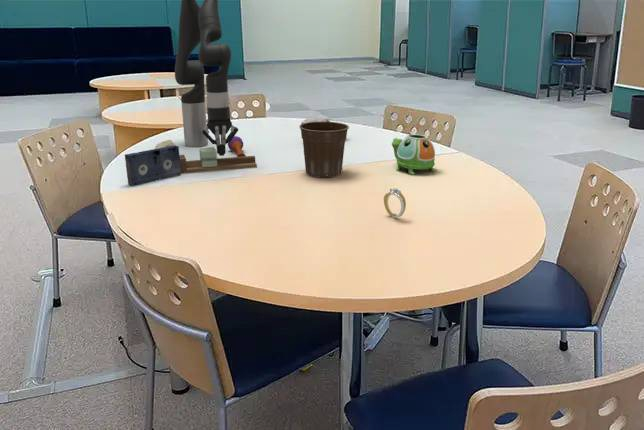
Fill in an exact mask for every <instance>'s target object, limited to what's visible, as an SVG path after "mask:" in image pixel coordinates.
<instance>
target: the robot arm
mask: <svg viewBox="0 0 644 430" xmlns="http://www.w3.org/2000/svg"><path fill="white" fill-rule="evenodd" d="M219 15H220V14H219V0H204V1H202V4H201V6H200V5H199V3H198V2H197V1H196V0H181V2H180V13H179V22H178V23H179V24H178V41H177V42H178V44H177V53H176V57H175V65H174V79H175V82H176V84H178V85H179V86H187V85H188V86H189V85H191V86H192V85H193V87H192V89H190V90H189V91H187V92H185V93H183V94H181V96H180V101H181V102H180V103H181V111H182V112H181V113H182V114H181V115H182V125H183V126H182V127H183V137H184V139H183V140H184V145H185V146H186V147H190V148H191V147H192V148H193V147H198V148H199V147H204V146H207V145H208V144H209V142H210V143H211V144H212V145H216V154H217V155H219V156H220V157H223V156H225V154H226V152H227V151H226V145H228V143H230V142H231V140H232V139H233V137H234V136H236V134H237V133H238V131H239V128H238V127H237V126H235V125H234V124H233V123H232V121H231V108H230V104H231V103H230V97H229V95H230V94H229V89H228V85H229V83H228V76H229V75H228V74H229V68H230V64H231V60H232V49H231V48H230V45H229V44H227V43H222V42H221V43H216V42H218V41H219V40H220V39H221V38H222V36H223V31H222V27H221V26H222V25H221V20H220V16H219ZM214 42H215V43H214ZM198 46H199V50H198V60H197V59H195V60H193V59H191V60H189V57H190V55H191V54H192V53H193V52H194V51H195V49H196V48H197V47H198ZM218 66H220V67H219V69H218V70H217V71H214V72H212V73H211V72H210V73H207V75H206V76H205V68H204V67H218ZM205 84H206V86H205ZM205 87H206V88H205ZM205 91H206V92H205ZM205 93H206V94H205ZM205 95H206V96H205ZM205 97H206V99H205ZM206 111H207V112H206ZM209 133H212V134H213V135H214V139H213V137H212V136H211V135H210V134H209ZM228 133H229V134H228ZM227 134H228V136H227Z"/></svg>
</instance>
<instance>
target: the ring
mask: <svg viewBox="0 0 644 430" xmlns="http://www.w3.org/2000/svg"><path fill="white" fill-rule="evenodd" d="M391 195H392V196H395V197H396V198H398V200H399V202H400V211H399V213H398V214H396V213H394V212H393V211H392V210H391V209H390V205H389V198H390V196H391ZM383 205H384V208H385V210H386V211H385V212H387V214H388V215H389V216H391V218H392V219H395V218H400V217H402V216H403V214H404V213H405V212H406V205H407V202H406V199H405V196H404V195H403V194H402V191H401V190H399V188H389V191H388V193H385V195H384V196H383Z"/></svg>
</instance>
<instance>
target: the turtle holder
mask: <svg viewBox="0 0 644 430" xmlns="http://www.w3.org/2000/svg"><path fill="white" fill-rule="evenodd" d="M391 146H392V148H393V152H394V158H395V159H396V164H397V166H396V171H398V170H399V171H401V170H402V168H404V169H407V171H408V174H409V175H411V176H412V175H416V173H415V170H428V171H429V172H430V171H431V172H430V173H435V172H436V171H435V169H434V168H433V167H434V166H435V164H436V163H435V159H436V157H435V156H436V149H435V146H434V144H433V142H432V141H431V139H429V138H428V136H426V135H423V134H419V133H418V134H417V133H415V134H414V133H413V134H407V135H406V136H405V137H404V138H403V139H402V138H397V137H396V138H393V140H392V142H391ZM400 169H401V170H400Z"/></svg>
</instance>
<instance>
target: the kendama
mask: <svg viewBox="0 0 644 430" xmlns="http://www.w3.org/2000/svg"><path fill="white" fill-rule="evenodd" d="M227 147H228V148H229V150H230V151H231V152H234V153H236V157H243V156H247V155H246V154H245V153H244V152H243V150H242V149H243V148H244V142H243V139H242V138H241V137H240V136H237V135H235V136H234V137H233V139H232V140H231V142H230V143H227Z"/></svg>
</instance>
